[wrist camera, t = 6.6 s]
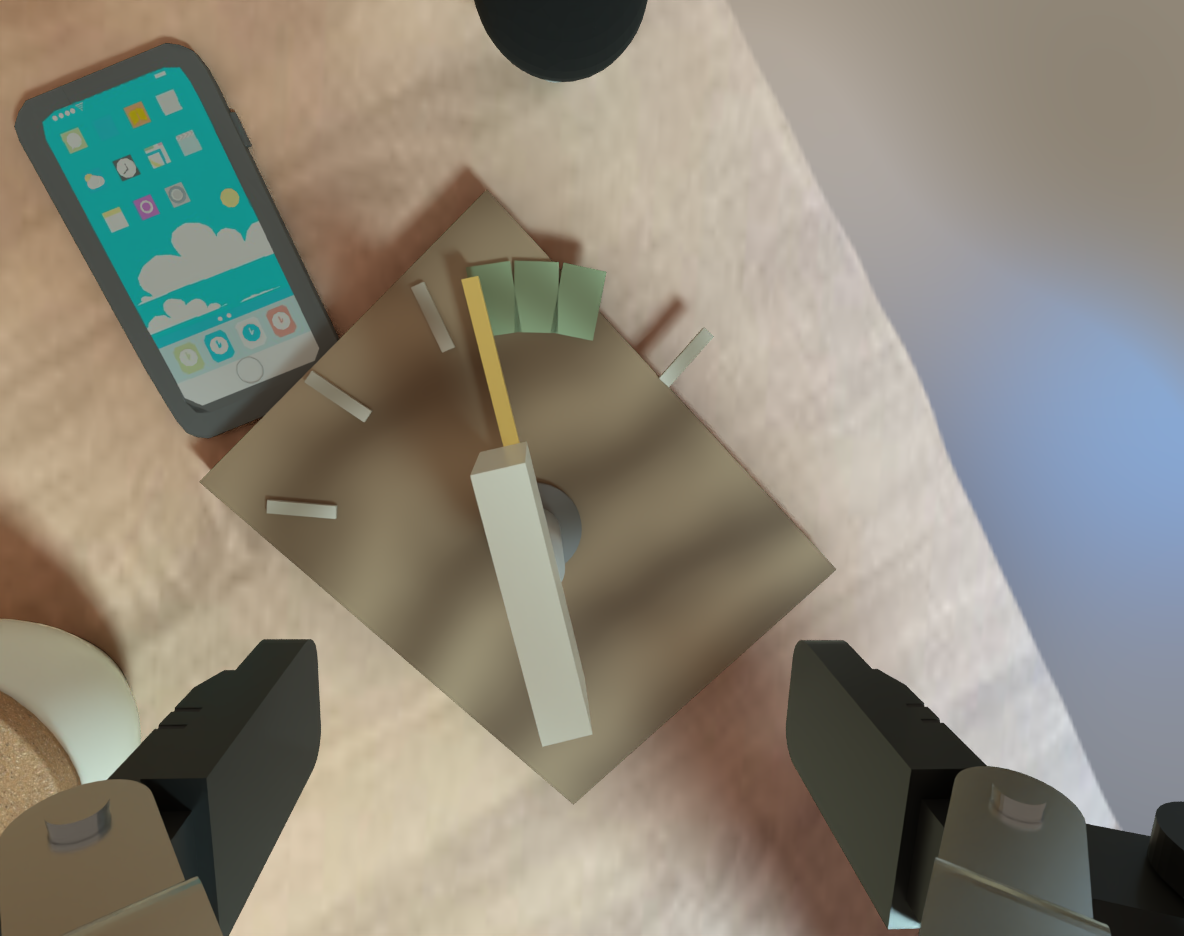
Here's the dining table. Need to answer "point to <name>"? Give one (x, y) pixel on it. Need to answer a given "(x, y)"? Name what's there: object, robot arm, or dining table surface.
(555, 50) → the light bulb
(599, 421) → the tuner board
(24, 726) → the lidded bowl
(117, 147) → the smartphone
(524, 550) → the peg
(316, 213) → the dining table surface
